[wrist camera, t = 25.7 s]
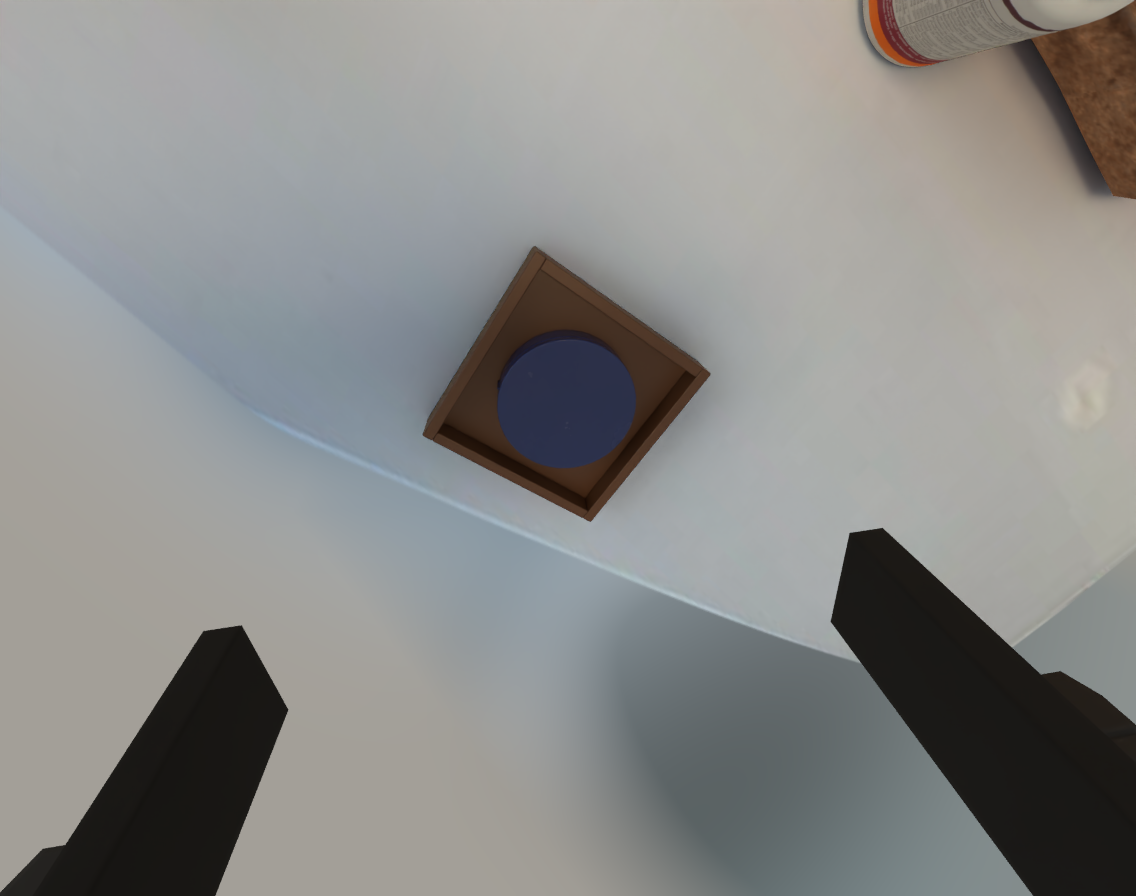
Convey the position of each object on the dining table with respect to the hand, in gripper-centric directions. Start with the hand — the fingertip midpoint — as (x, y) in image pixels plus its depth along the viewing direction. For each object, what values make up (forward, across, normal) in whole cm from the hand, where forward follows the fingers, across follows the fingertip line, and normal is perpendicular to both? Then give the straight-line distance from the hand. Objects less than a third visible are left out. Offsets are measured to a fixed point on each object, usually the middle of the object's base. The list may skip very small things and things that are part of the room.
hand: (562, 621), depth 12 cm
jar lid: (+17, +2, -2) cm, 17 cm away
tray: (+19, +2, -2) cm, 19 cm away
